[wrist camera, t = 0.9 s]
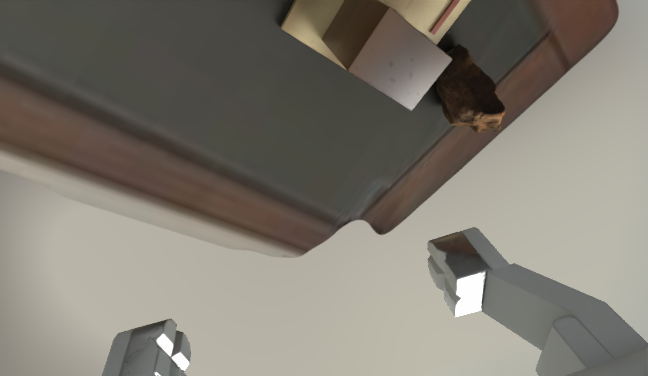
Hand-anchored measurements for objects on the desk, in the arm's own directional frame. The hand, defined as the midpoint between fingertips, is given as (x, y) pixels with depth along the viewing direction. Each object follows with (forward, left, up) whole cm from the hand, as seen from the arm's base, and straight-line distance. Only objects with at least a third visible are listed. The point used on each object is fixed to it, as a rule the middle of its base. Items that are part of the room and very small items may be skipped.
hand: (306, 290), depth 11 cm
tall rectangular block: (+14, +10, -38) cm, 42 cm away
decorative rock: (+30, +16, -39) cm, 52 cm away
